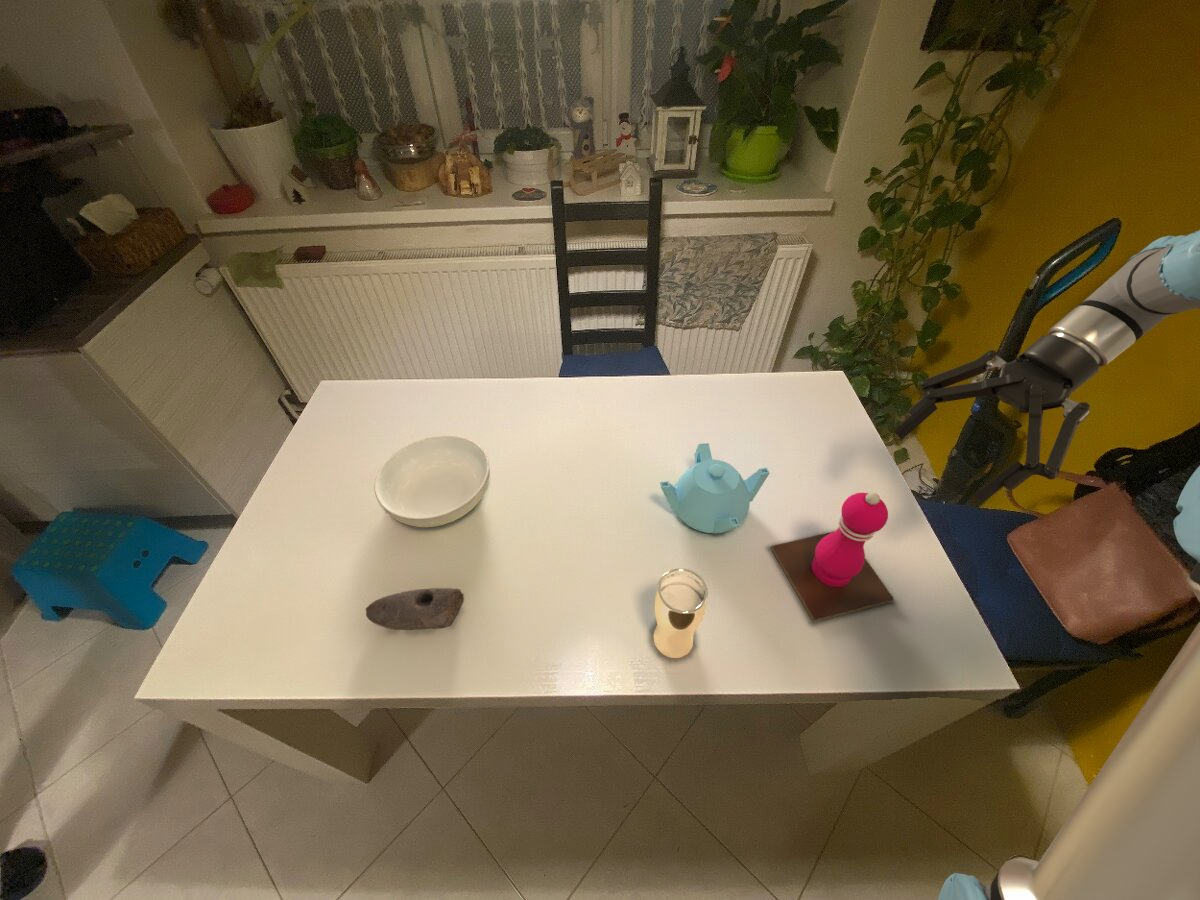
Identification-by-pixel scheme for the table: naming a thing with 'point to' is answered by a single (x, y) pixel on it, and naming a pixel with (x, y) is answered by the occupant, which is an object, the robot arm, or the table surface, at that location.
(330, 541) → the table surface
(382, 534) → the table surface
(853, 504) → the pepper mill
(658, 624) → the beer glass
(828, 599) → the walnut board
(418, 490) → the serving bowl
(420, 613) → the perforated stone tool
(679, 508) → the teapot
